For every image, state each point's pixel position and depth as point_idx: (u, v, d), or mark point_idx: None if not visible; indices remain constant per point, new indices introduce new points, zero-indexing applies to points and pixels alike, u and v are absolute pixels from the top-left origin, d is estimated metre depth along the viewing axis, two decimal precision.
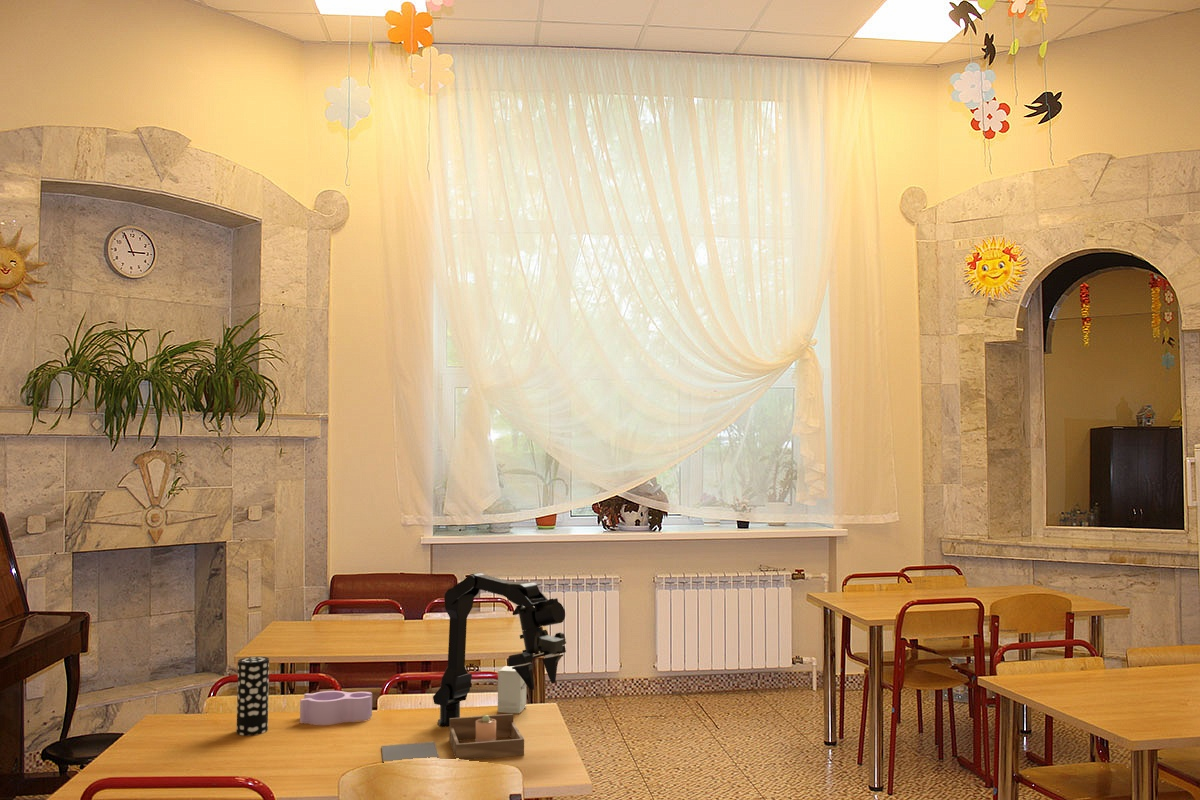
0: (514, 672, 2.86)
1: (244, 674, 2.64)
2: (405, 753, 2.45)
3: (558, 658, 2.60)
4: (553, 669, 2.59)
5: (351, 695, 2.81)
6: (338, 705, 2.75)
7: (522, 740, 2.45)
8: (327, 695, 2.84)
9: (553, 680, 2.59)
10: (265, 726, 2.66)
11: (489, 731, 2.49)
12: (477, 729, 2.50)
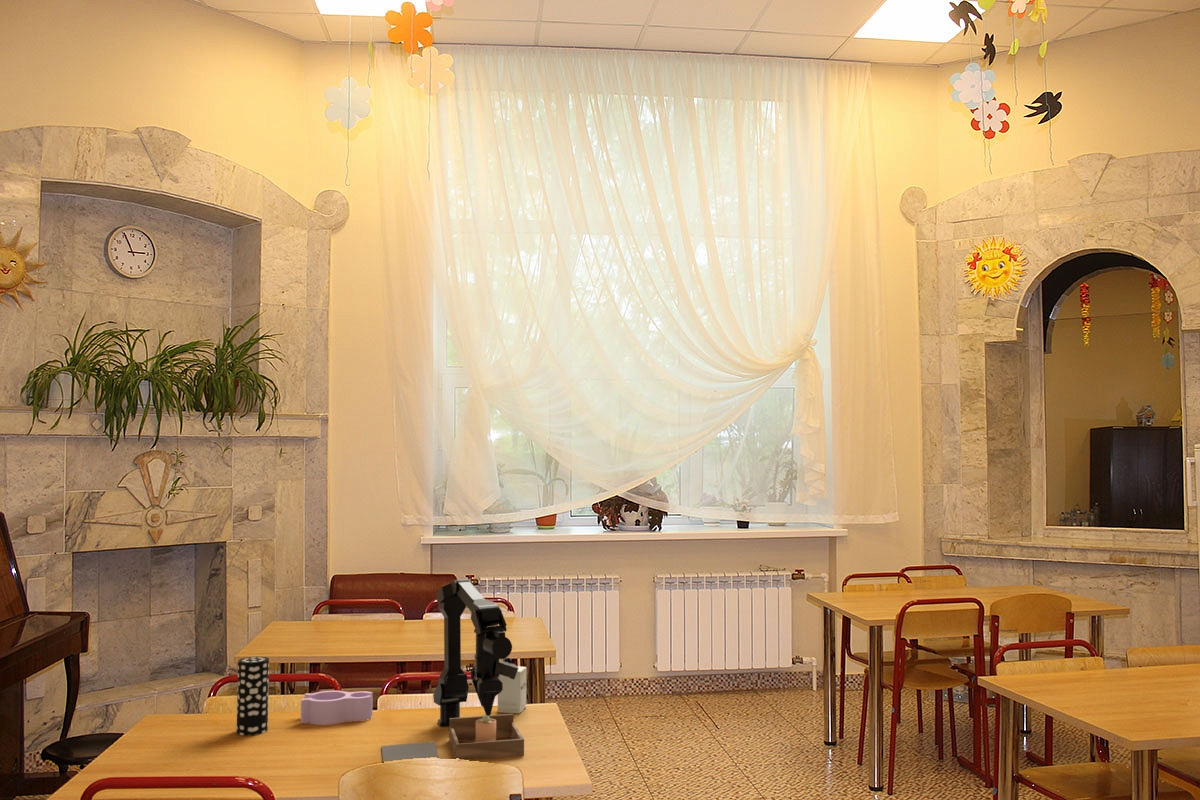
0: None
1: (244, 674, 2.64)
2: (405, 753, 2.45)
3: None
4: None
5: (351, 695, 2.82)
6: (339, 705, 2.75)
7: (522, 740, 2.45)
8: (327, 694, 2.84)
9: None
10: (265, 726, 2.66)
11: (489, 731, 2.49)
12: (477, 729, 2.50)
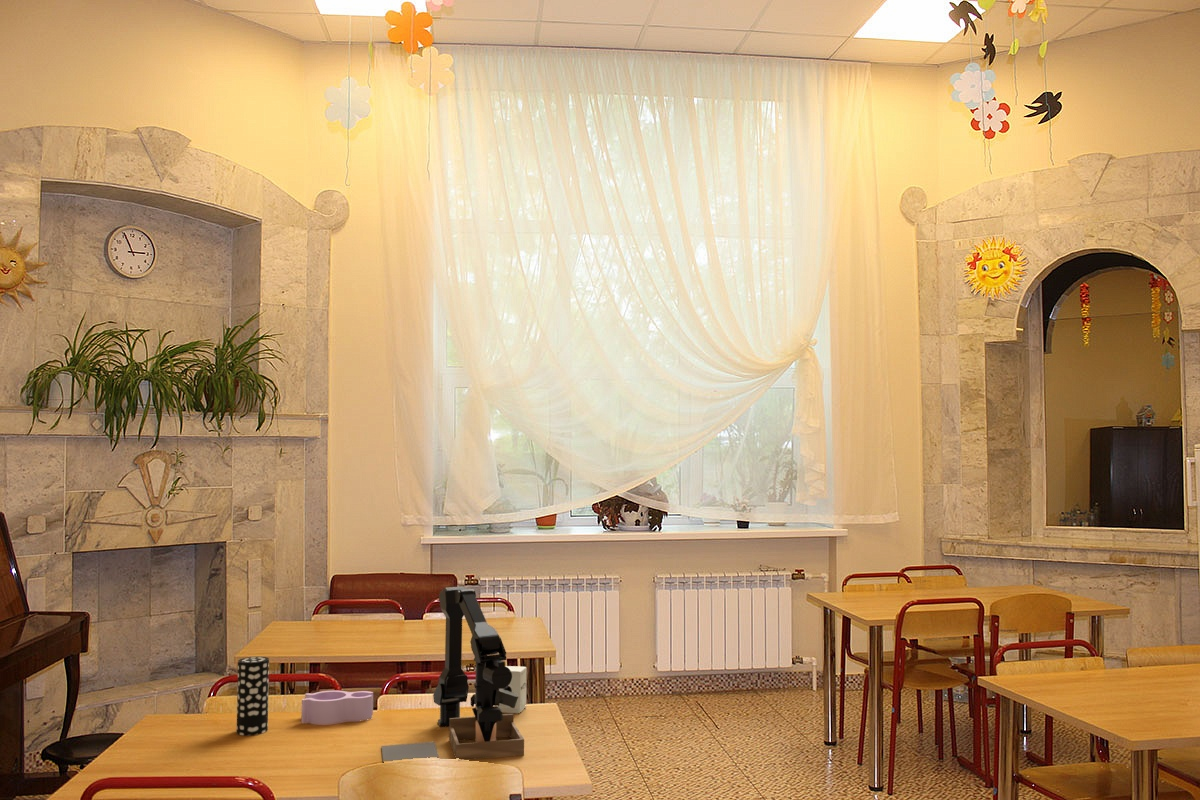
0: (514, 672, 2.86)
1: (244, 674, 2.64)
2: (405, 753, 2.45)
3: None
4: None
5: (352, 695, 2.82)
6: (340, 705, 2.75)
7: (522, 740, 2.45)
8: (328, 694, 2.84)
9: None
10: (265, 726, 2.66)
11: None
12: (477, 729, 2.50)
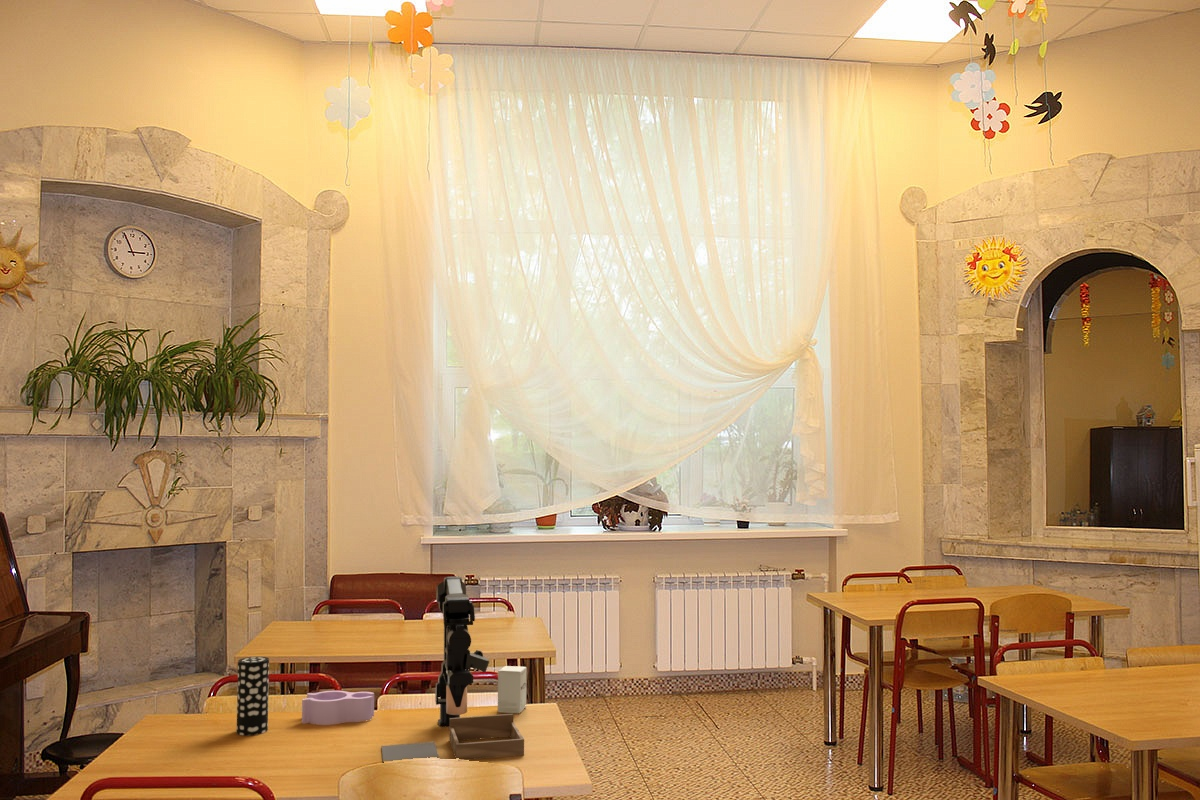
0: (514, 672, 2.86)
1: (244, 674, 2.64)
2: (405, 753, 2.45)
3: None
4: None
5: (353, 695, 2.81)
6: (339, 705, 2.75)
7: (522, 740, 2.45)
8: (329, 694, 2.84)
9: None
10: (265, 726, 2.66)
11: None
12: (448, 693, 2.49)
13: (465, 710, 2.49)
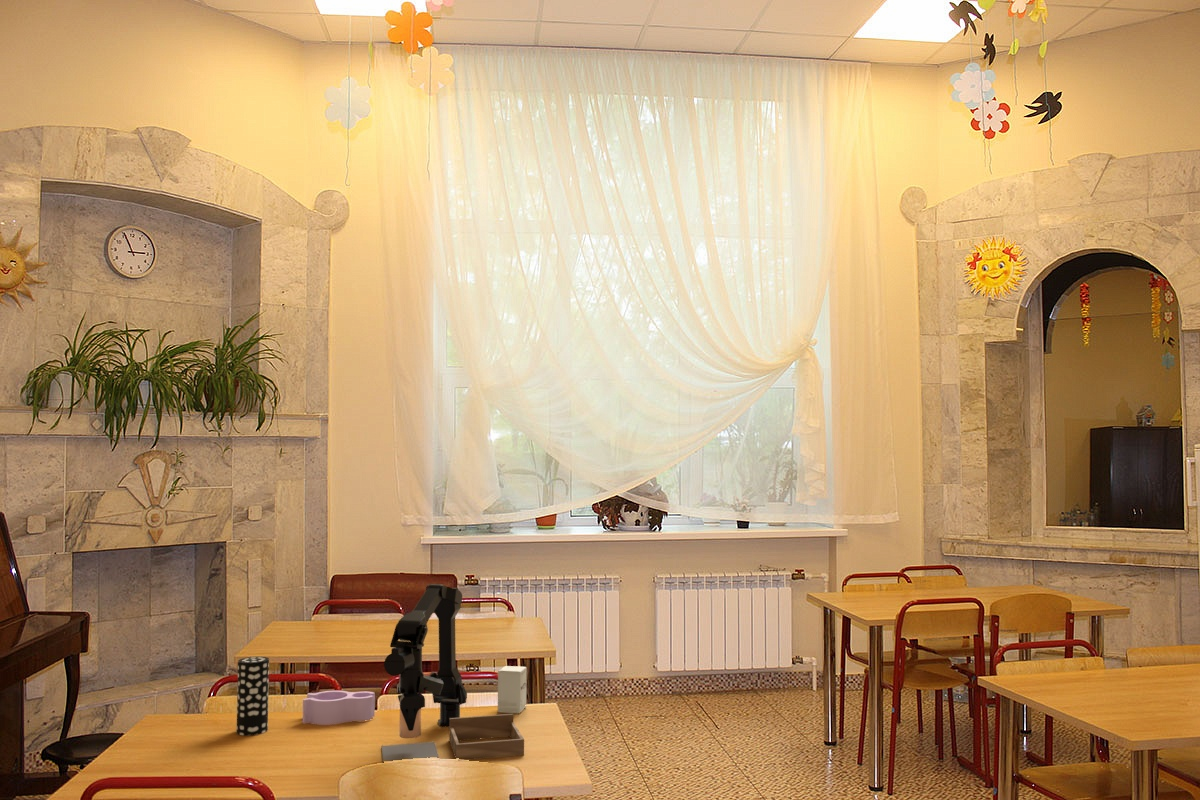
0: (514, 672, 2.86)
1: (244, 674, 2.64)
2: (405, 753, 2.45)
3: None
4: None
5: (354, 695, 2.82)
6: (340, 705, 2.75)
7: (522, 740, 2.45)
8: (330, 694, 2.84)
9: None
10: (265, 726, 2.66)
11: None
12: (401, 716, 2.45)
13: (418, 733, 2.46)
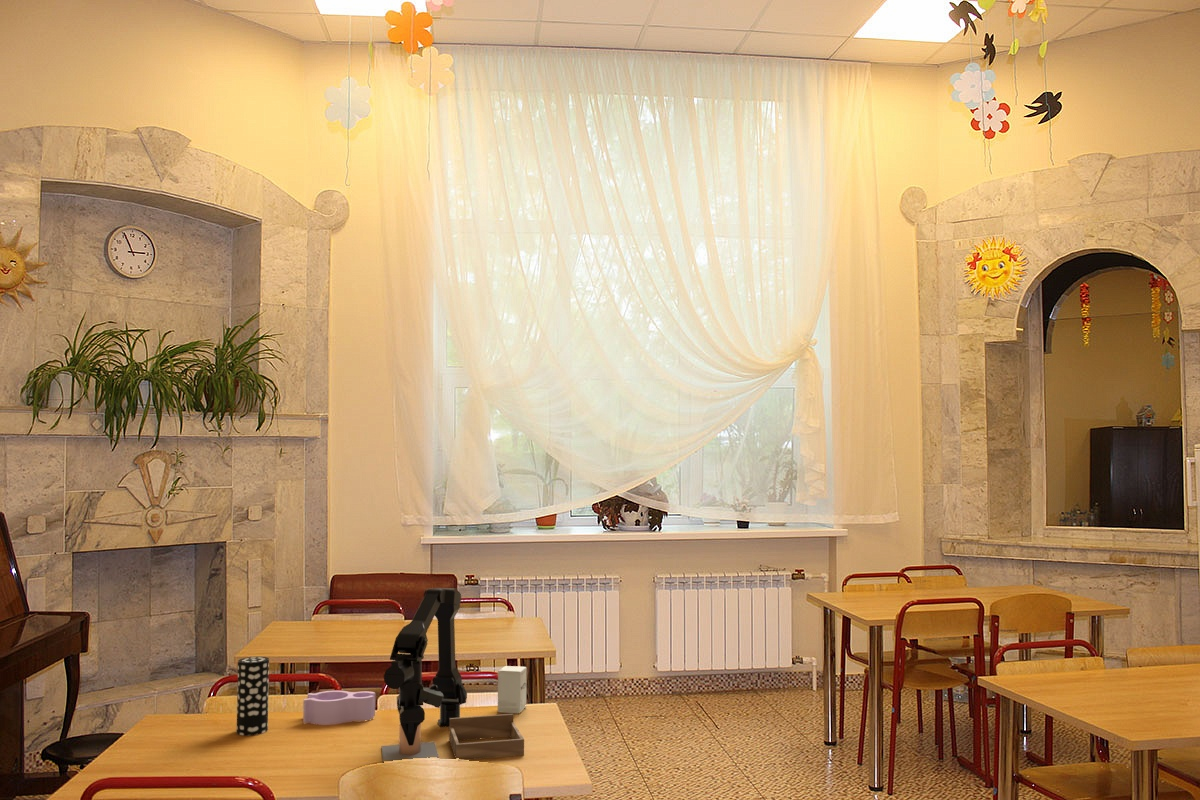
0: (514, 672, 2.86)
1: (244, 674, 2.64)
2: None
3: None
4: None
5: (354, 695, 2.82)
6: (341, 705, 2.75)
7: (522, 740, 2.45)
8: (330, 694, 2.84)
9: None
10: (265, 726, 2.66)
11: None
12: (400, 733, 2.45)
13: (418, 750, 2.45)
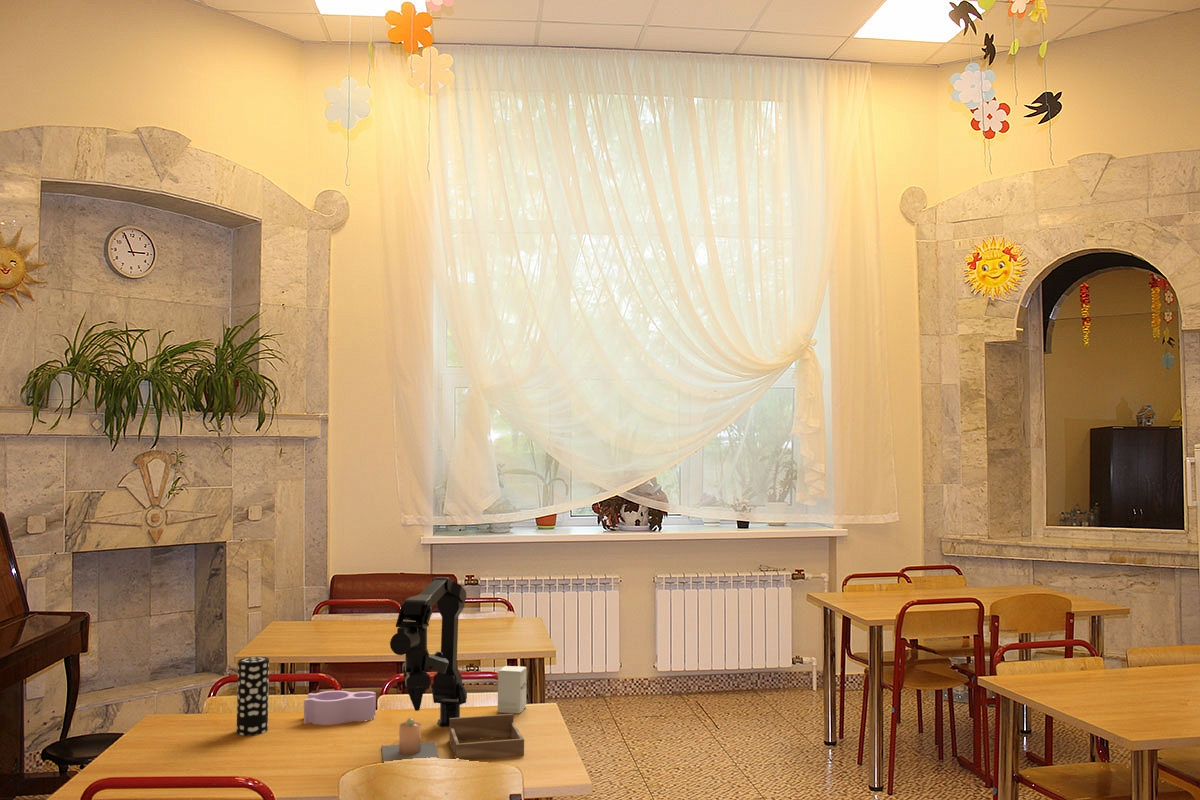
0: (514, 672, 2.86)
1: (244, 674, 2.64)
2: None
3: None
4: None
5: (355, 695, 2.82)
6: (342, 705, 2.75)
7: (522, 740, 2.45)
8: (330, 694, 2.84)
9: None
10: (265, 726, 2.66)
11: (412, 734, 2.44)
12: (400, 733, 2.45)
13: (418, 750, 2.45)
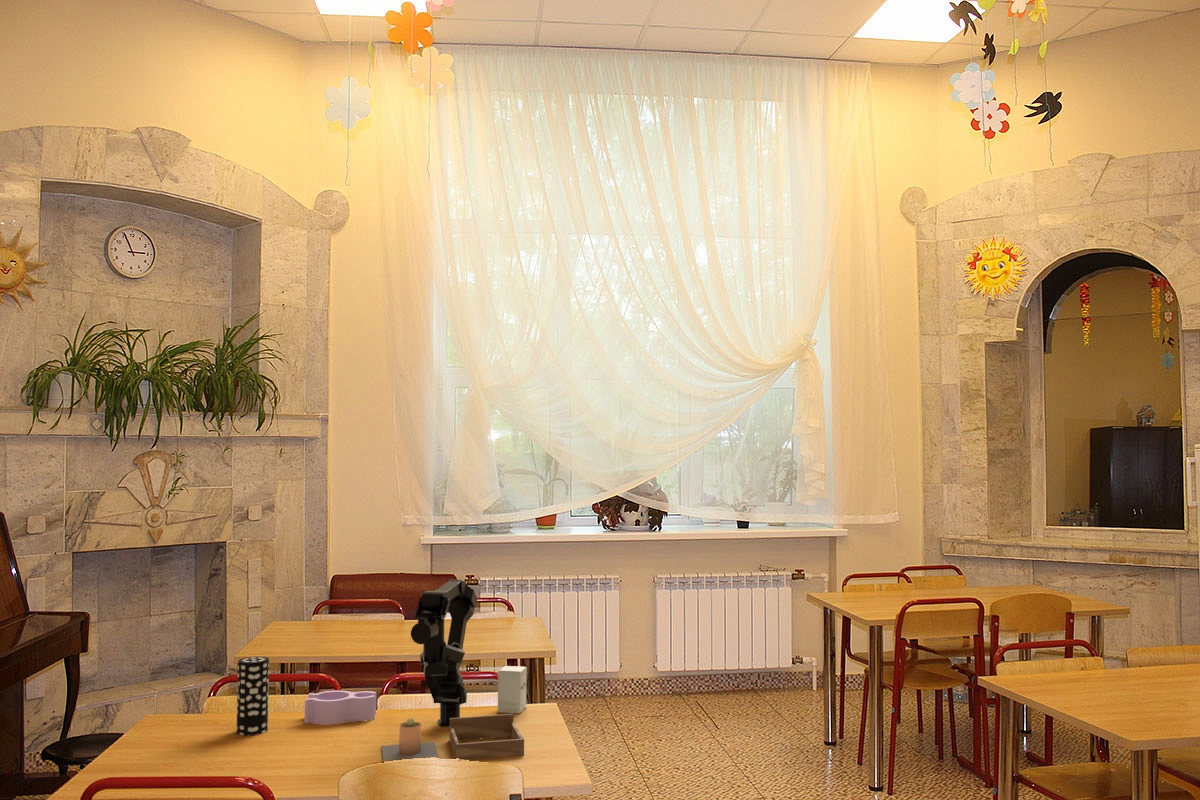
0: (514, 672, 2.86)
1: (244, 674, 2.64)
2: None
3: None
4: None
5: (355, 695, 2.82)
6: (343, 705, 2.75)
7: (522, 740, 2.45)
8: (331, 694, 2.84)
9: None
10: (265, 726, 2.66)
11: (412, 734, 2.44)
12: (400, 733, 2.45)
13: (418, 750, 2.45)
